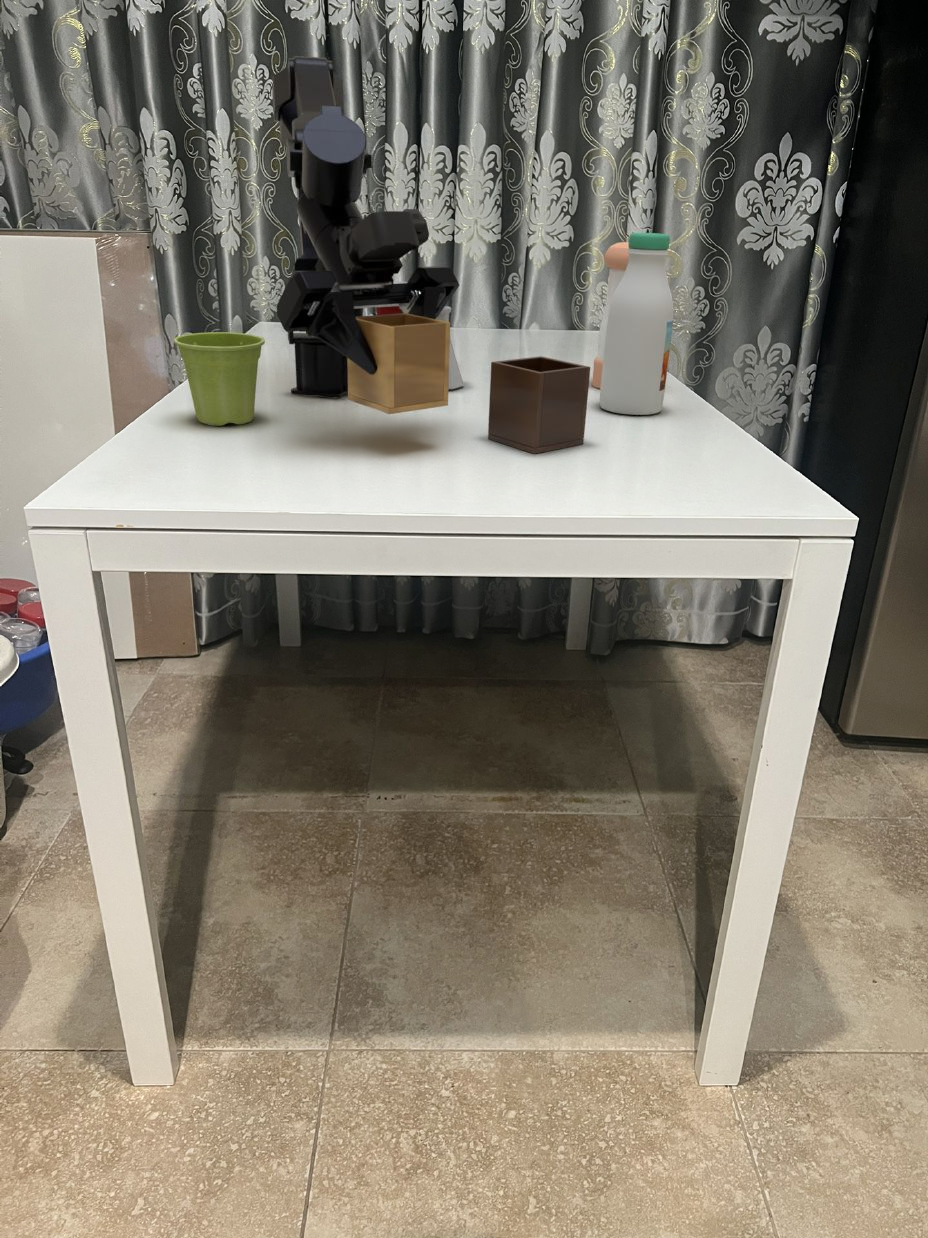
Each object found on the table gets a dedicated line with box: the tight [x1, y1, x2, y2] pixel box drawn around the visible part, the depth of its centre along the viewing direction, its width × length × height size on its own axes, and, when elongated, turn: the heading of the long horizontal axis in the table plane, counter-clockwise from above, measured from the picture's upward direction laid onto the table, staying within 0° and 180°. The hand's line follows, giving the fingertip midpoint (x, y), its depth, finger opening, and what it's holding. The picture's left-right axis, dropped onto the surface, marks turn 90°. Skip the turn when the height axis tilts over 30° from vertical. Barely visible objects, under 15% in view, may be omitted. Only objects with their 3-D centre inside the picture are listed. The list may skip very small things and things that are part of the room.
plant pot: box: [173, 331, 266, 427], centre depth 98 cm, size 9×9×9 cm
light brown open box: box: [347, 313, 451, 415], centre depth 89 cm, size 7×7×8 cm
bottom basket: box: [487, 355, 591, 455], centre depth 94 cm, size 7×7×8 cm
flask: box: [436, 306, 465, 390], centre depth 119 cm, size 7×7×10 cm
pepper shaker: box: [591, 236, 629, 389], centre depth 120 cm, size 7×7×19 cm
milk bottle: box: [599, 232, 674, 416], centre depth 107 cm, size 8×8×20 cm
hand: (406, 368), depth 88 cm, fingers closed on light brown open box, 7 cm apart
